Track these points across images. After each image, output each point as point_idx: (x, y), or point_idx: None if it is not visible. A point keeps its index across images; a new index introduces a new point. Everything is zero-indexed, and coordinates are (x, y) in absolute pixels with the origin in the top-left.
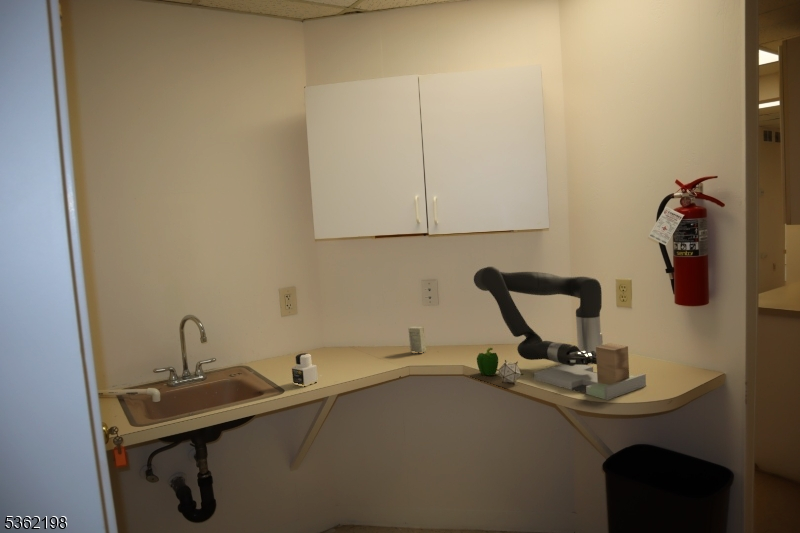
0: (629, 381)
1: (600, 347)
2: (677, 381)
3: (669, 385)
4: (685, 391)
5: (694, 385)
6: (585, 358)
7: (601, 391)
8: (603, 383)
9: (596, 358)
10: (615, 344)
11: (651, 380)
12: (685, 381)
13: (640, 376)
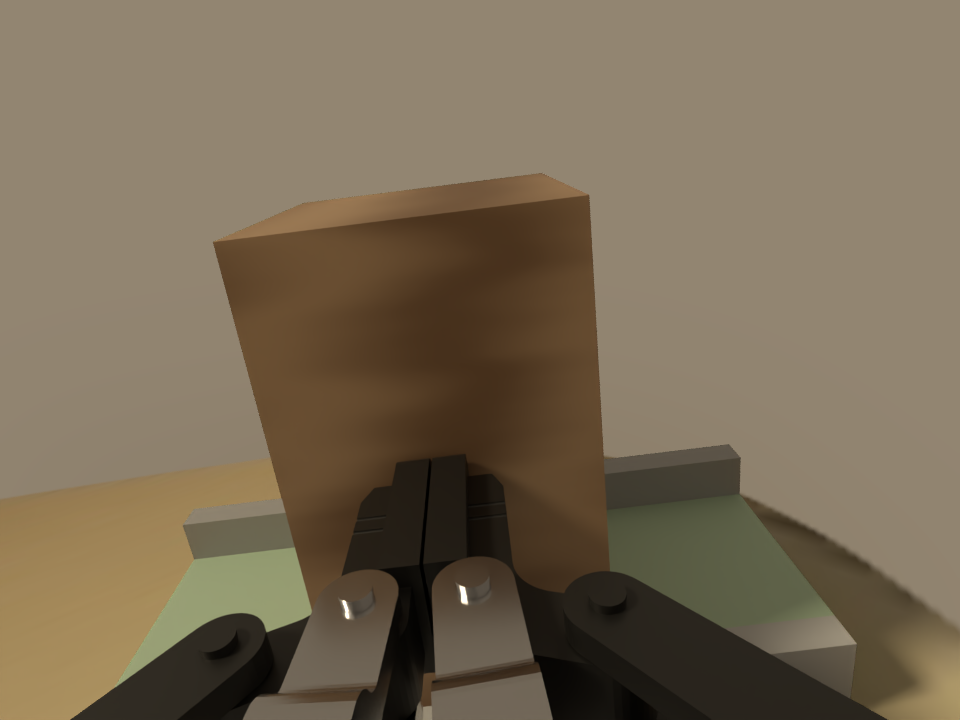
0: None
1: (560, 190)
2: (16, 560)
3: (141, 538)
4: (234, 463)
5: (93, 490)
6: (649, 594)
7: (752, 517)
8: None
9: (599, 391)
10: (271, 221)
11: (25, 659)
12: (6, 541)
13: (269, 503)
